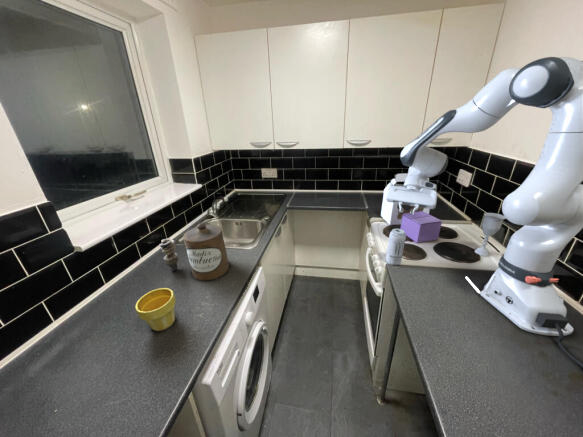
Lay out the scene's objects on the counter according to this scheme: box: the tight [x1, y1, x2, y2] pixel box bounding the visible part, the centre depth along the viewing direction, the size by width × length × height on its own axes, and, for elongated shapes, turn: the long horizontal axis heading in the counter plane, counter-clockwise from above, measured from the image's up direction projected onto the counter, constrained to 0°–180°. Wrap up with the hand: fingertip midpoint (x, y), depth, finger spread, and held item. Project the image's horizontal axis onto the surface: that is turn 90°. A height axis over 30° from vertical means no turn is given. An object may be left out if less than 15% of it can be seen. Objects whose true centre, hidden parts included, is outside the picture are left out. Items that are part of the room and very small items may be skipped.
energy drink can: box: [385, 228, 407, 266], centre depth 96 cm, size 6×6×15 cm
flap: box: [412, 215, 443, 224], centre depth 112 cm, size 6×12×1 cm, turn 103°
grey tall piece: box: [159, 238, 179, 272], centre depth 96 cm, size 6×6×15 cm
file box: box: [399, 211, 443, 244], centre depth 117 cm, size 13×12×10 cm
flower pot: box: [134, 287, 177, 332], centre depth 71 cm, size 10×10×10 cm
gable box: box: [380, 172, 431, 226], centre depth 132 cm, size 22×13×28 cm, turn 92°
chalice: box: [474, 212, 506, 257], centre depth 99 cm, size 7×7×18 cm
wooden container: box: [182, 222, 230, 281], centre depth 94 cm, size 15×15×22 cm
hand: (406, 213), depth 100 cm, fingers open, 3 cm apart
